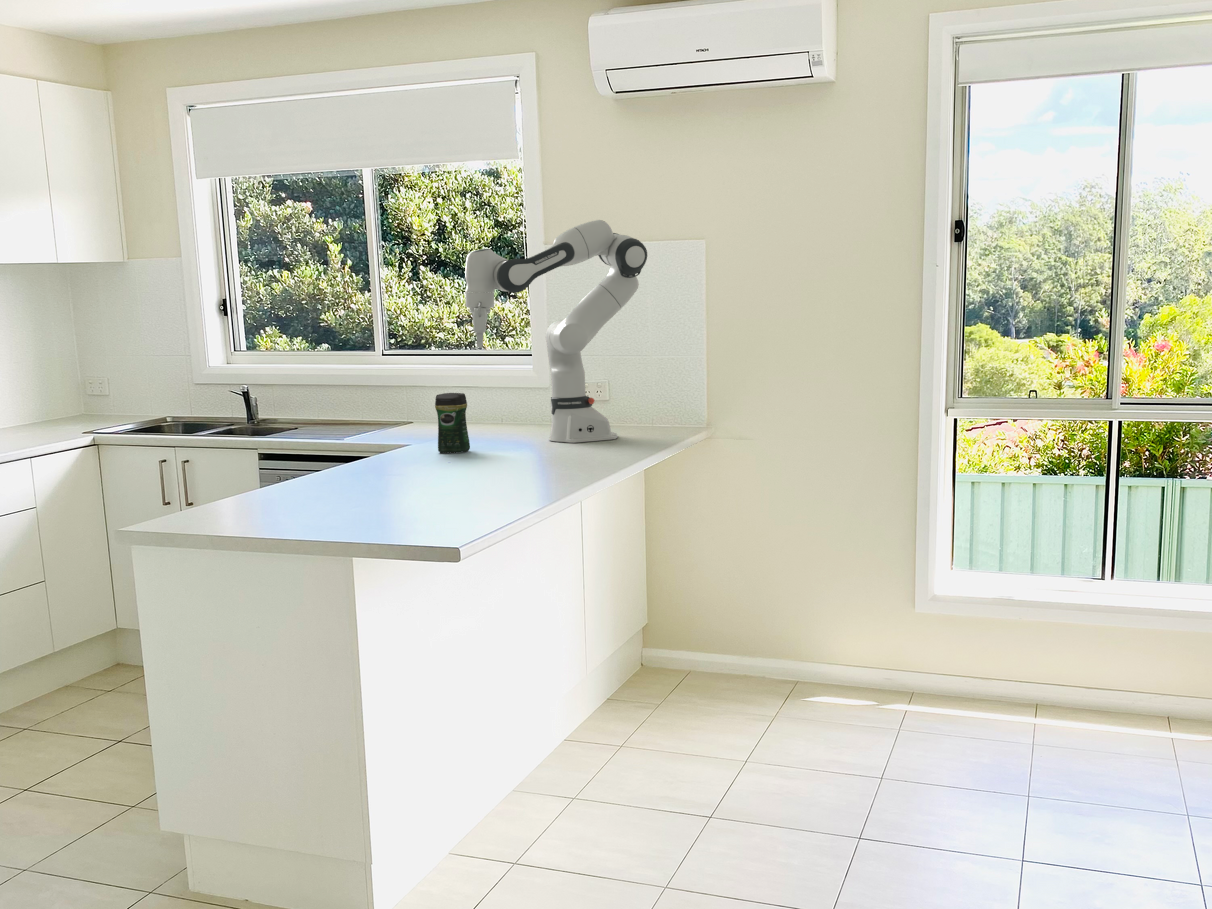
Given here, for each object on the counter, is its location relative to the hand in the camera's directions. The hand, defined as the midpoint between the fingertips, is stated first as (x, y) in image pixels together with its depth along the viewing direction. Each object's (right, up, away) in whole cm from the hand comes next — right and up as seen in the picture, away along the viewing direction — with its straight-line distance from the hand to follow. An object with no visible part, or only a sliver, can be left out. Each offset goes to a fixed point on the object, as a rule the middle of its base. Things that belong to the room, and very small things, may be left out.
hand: (479, 346), depth 341 cm
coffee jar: (-8, -33, +1) cm, 34 cm away
